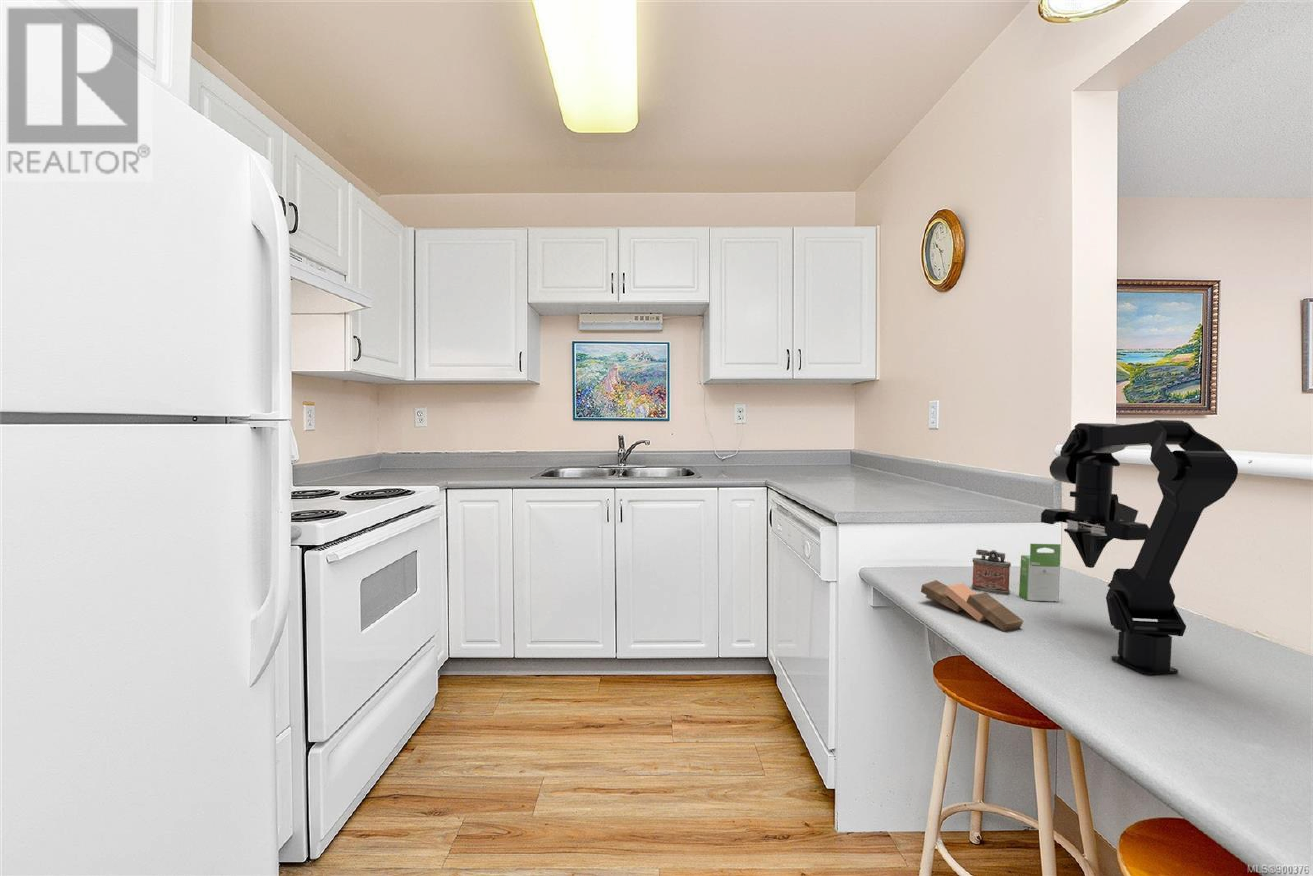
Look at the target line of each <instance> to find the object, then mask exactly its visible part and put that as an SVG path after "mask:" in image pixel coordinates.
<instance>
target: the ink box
mask: <svg viewBox="0 0 1313 876" xmlns="http://www.w3.org/2000/svg"><path fill="white" fill-rule="evenodd" d="M1061 545H1062V544H1060V543H1030V544H1029V546H1030V547H1029V550H1030V551H1029V555H1028V554H1027V555H1025V554H1022V555H1020V567H1019V568H1020V571H1019V572H1020V574H1019V590H1018V595H1019V597H1020V596H1021V597H1020V598H1022V599H1023V598H1024V599H1023V600H1026V601H1033V602H1035V601H1037V602H1054V601H1055V603H1056V602H1057V603H1058V602H1060V577H1061V576H1060V575H1061V556H1062V555H1061ZM1044 548H1045V549H1050V550H1053V552H1044V551H1043V552H1041V551H1040V552H1038V550H1040V549H1044Z"/></svg>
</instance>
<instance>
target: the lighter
mask: <svg viewBox="0 0 1313 876" xmlns="http://www.w3.org/2000/svg"><path fill="white" fill-rule="evenodd" d="M975 551H976V552H975V555H977V556H981V557H973V558H972V563H973V564H972V584H971V590H972V591H977V592H981V591H983V592H982V593H987V592H988V593H989V594H994V595H995V594H996V595H1002V596H1003V595H1004V596H1009V595H1010V570H1011V569H1010V567H1011V566H1012V565H1011V564H1012V563H1011V562H1010V561H1005V558H1006V553H1005V552H998V551H997V550H996V549H992V550H987V549H979V548H977V549H976V550H975ZM986 557H987V558H986ZM988 593H987V594H988Z"/></svg>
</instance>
